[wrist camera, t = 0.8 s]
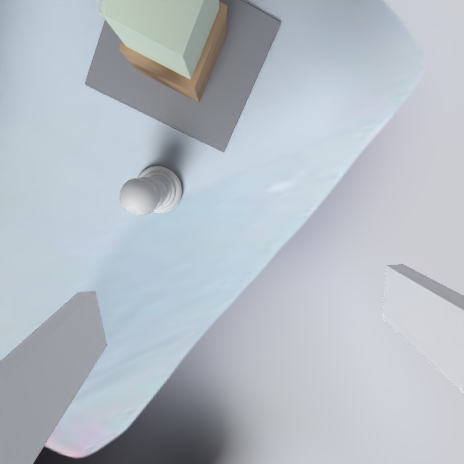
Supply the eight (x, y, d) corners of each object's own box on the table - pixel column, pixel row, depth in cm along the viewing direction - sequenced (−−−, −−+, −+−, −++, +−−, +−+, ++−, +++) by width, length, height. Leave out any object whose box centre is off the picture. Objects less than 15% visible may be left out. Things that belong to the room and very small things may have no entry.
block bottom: (137, 71, 27) (118, 49, 22) (162, 0, 26) (148, -39, 21) (199, 102, 28) (194, 88, 23) (226, 35, 27) (227, 5, 22)
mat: (86, 85, 28) (84, 84, 27) (132, -60, 25) (131, -64, 25) (223, 152, 30) (223, 152, 29) (280, 24, 27) (280, 22, 27)
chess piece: (174, 218, 31) (155, 237, 23) (131, 203, 31) (94, 215, 22) (188, 176, 30) (174, 178, 22) (144, 159, 30) (110, 154, 21)
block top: (126, 46, 22) (99, 12, 18) (151, -29, 21) (130, -89, 16) (191, 80, 23) (182, 55, 18) (219, 9, 22) (218, -38, 17)
